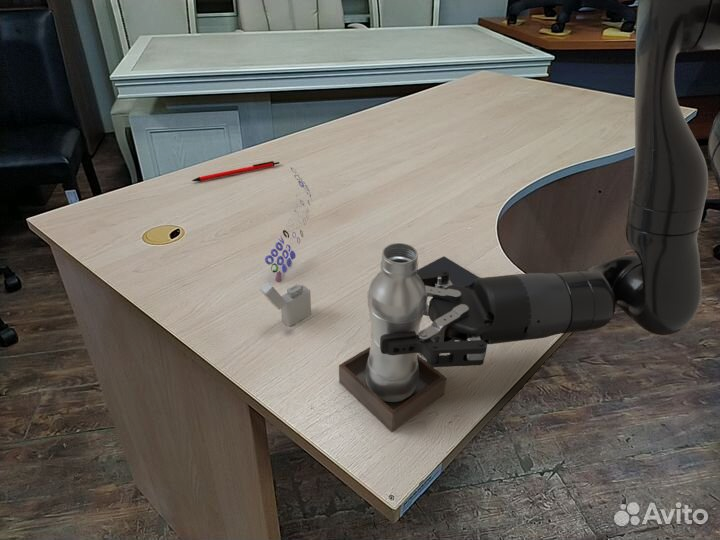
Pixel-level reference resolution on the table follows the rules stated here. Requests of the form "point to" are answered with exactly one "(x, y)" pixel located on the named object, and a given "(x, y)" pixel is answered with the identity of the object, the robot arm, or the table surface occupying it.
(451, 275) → the mat
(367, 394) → the bottle stand
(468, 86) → the table surface
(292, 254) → the ring set
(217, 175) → the pen
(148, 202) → the table surface
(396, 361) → the silver metal bottle
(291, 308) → the lighter
